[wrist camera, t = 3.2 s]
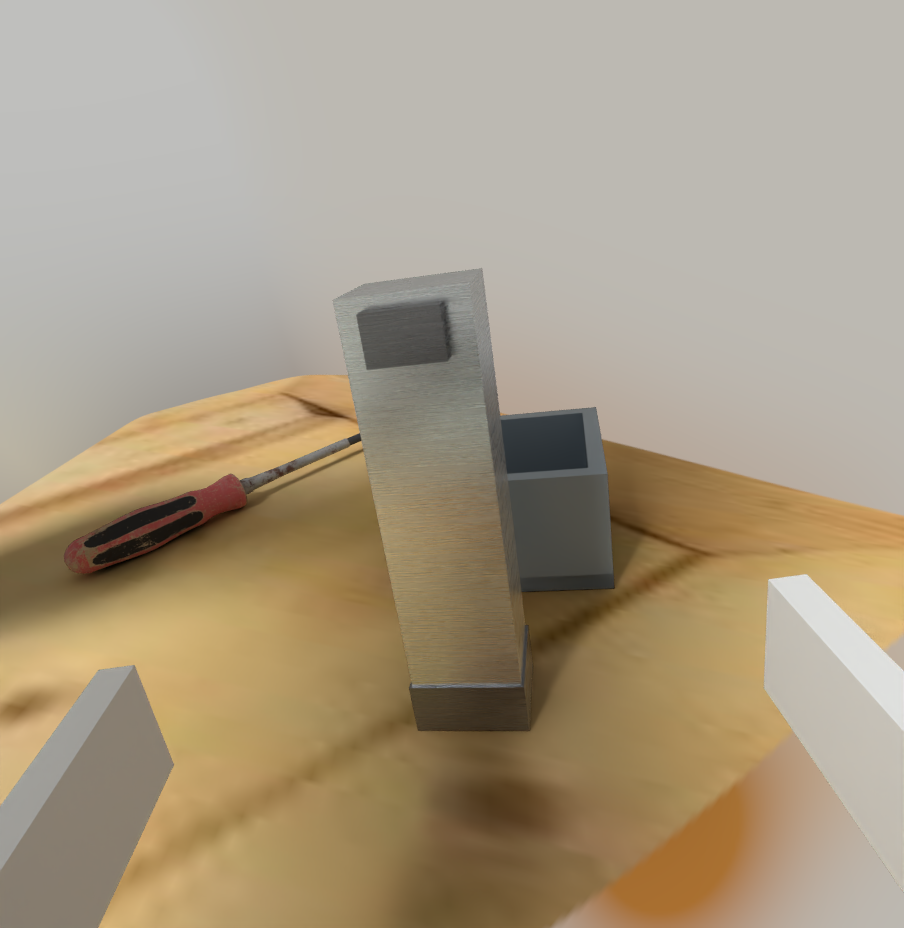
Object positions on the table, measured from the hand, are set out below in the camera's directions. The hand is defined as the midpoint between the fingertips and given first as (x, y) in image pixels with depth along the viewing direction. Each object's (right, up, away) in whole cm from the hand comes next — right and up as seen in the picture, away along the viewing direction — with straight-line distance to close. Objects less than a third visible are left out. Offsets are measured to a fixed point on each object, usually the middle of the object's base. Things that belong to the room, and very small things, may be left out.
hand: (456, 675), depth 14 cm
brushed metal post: (+1, -5, +12) cm, 13 cm away
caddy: (+4, 0, +23) cm, 23 cm away
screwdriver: (-15, +1, +34) cm, 37 cm away
